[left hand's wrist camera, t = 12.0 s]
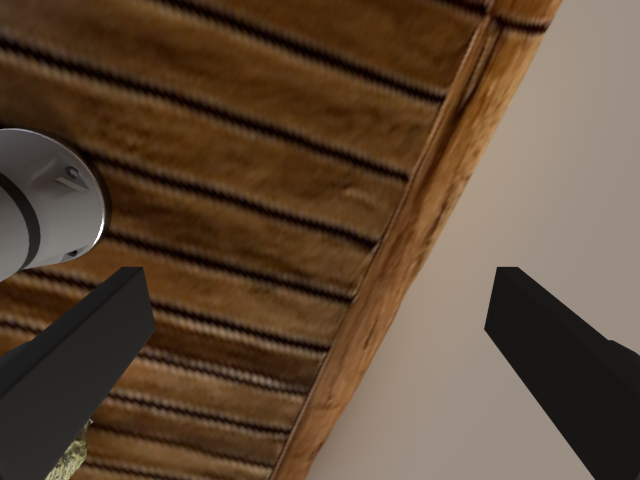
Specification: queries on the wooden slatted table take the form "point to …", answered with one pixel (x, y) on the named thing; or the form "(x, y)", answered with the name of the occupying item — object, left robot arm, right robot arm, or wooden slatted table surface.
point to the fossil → (71, 457)
